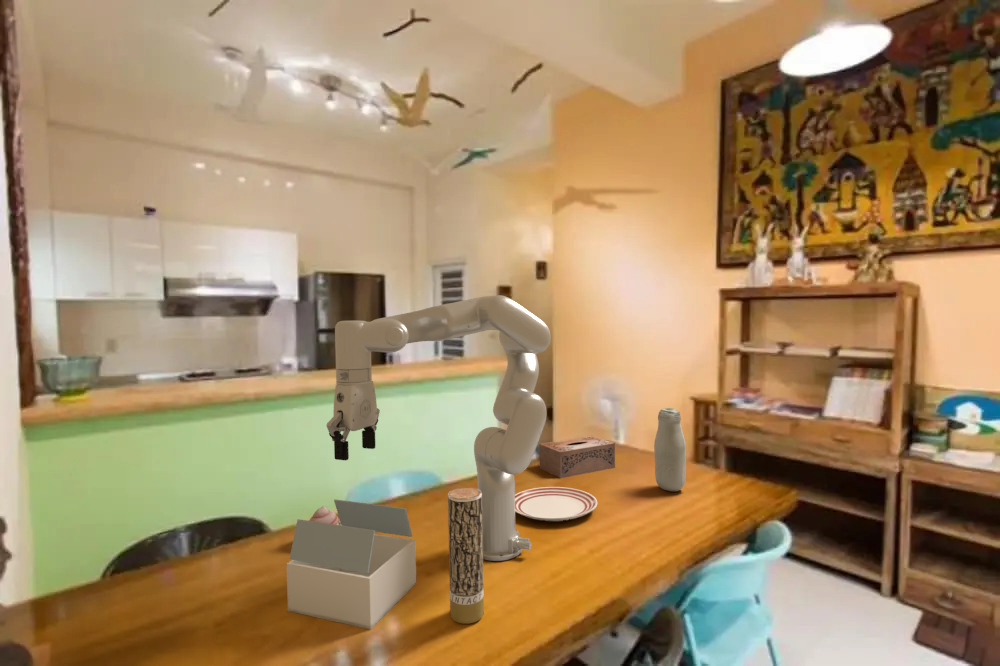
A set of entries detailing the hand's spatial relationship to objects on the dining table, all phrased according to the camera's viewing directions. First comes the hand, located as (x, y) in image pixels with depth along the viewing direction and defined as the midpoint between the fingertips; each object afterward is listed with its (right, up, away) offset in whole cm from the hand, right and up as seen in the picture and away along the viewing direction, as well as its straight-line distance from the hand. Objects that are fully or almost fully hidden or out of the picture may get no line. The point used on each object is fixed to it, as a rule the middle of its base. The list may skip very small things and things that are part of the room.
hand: (355, 453), depth 113 cm
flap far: (+3, -16, +4) cm, 17 cm away
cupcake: (-16, -30, +25) cm, 42 cm away
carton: (0, -31, -2) cm, 31 cm away
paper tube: (+25, -31, -10) cm, 41 cm away
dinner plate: (+48, -29, +46) cm, 72 cm away
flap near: (-2, -16, -9) cm, 19 cm away
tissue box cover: (+62, -27, +88) cm, 111 cm away
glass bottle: (+90, -27, +62) cm, 112 cm away
